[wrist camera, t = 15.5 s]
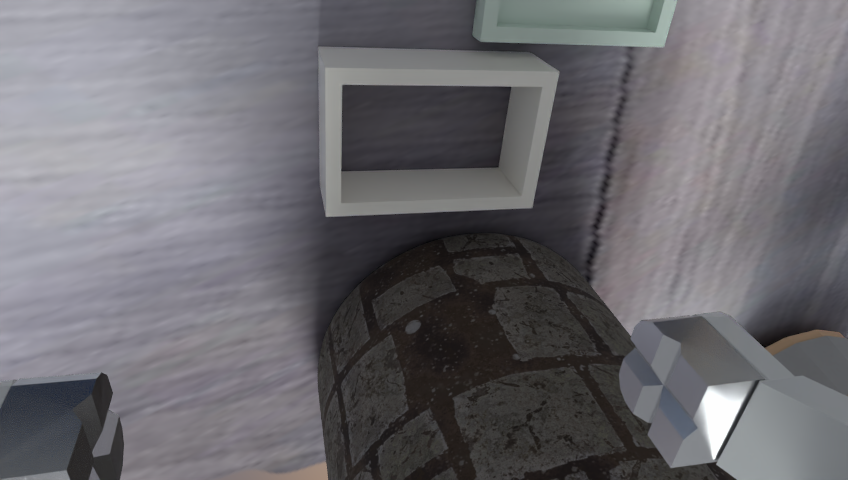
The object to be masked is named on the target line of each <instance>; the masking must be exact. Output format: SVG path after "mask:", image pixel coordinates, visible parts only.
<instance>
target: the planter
mask: <svg viewBox="0 0 848 480" xmlns="http://www.w3.org/2000/svg"><path fill="white" fill-rule="evenodd" d="M630 338H631V336H630V335H629V333H628V332H627V331H626V330H625V328H624V327H623V326H622V325H621V323H620V322H619V321H618V320H617V318H616V317H615V316H614V315H613V313H612V312H611V311H610V310H609V308H608V307H607V306H606V305H605V303H604V302H603V301H602V300H601V298H600V297H599V296H598V295H597V293H596V292H595V291H594V290H593V288H592V287H591V286H590V285H589V283H588V282H587V281H586V280H585V278H584V277H583V276H582V275H581V274H580V273H579V272H578V271H577V270H576V269H575V268H574V267H573V266H572V265H571V264H570V263H569V262H568V261H566V260H565V259H564V258H563V257H561V256H560V255H558V254H557V253H555V252H554V251H552V250H550V249H549V248H547V247H545V246H543V245H541V244H538V243H536V242H533V241H530V240H527V239H524V238H520V237H516V236H511V235H505V234H495V233H474V234H463V235H457V236H451V237H447V238H442V239H439V240H435V241H432V242H429V243H426V244H423V245H420V246H418V247H415V248H413V249H411V250H409V251H407V252H404V253H402V254H401V255H399V256H397V257H395V258H393V259H392V260H390V261H388V262H387V263H385V264H384V265H382V266H381V267H379V268H378V269H377V270H375V271H374V272H373V273H371V274H370V275H369V276H368V277H367V278H365V279H364V280H363V281H362V282H361V283H360V284H359V285H358V286H357V287H356V288H355V289H354V290H353V291H352V292H351V293H350V295H349V296H348V297H347V298H346V299H345V301H344V302H343V303H342V305H341V306H340V308H339V309H338V311H337V312H336V314H335V316H334V317H333V319H332V321H331V323H330V325H329V327H328V329H327V332H326V334H325V337H324V340H323V343H322V347H321V351H320V356H319V363H318V392H319V402H320V410H321V419H322V428H323V437H324V445H325V454H326V463H327V471H328V480H737V479H735V478H734V477H733V476H731V475H730V474H729V473H727V472H726V471H724V470H723V469H722V468H720V467H719V466H718V465H716V464H717V462H711V463H704V464H697V465H689V466H682V467H675V468H670V466H669V465H668V464H667V462H666V461H665V459H664V458H663V456H662V455H661V454H660V452H659V451H658V449H657V448H656V446H655V445H654V443H653V442H652V441H651V439H650V438H649V436H648V435H647V434H648V422H646V421H644V420H643V419H641V418H639V417H638V416H636V415H634V414H633V413H632V411H631V410H630V408H629V407H628V405H627V404H626V402H625V400H624V398H623V395H622V393H621V390H620V380H619V372H620V368H621V365H622V362H623V359H624V358H625V357H626V356H627V355H628V354H629V353H630V352H631V351H632V350H633V349H634V346H633V344H632V342H631V340H630Z"/></svg>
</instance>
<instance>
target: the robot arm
mask: <svg viewBox="0 0 848 480" xmlns="http://www.w3.org/2000/svg"><path fill="white" fill-rule="evenodd" d="M630 340H631V342H632V344H633V346H634V349H633V350H632V351H631V352H630V353H629V354H628V355H627V356H626V357H625V358H624V359H623V362H622V365H621V368H620V372H619V380H620V390H621V393H622V395H623V398H624V400H625V402H626V404H627V405H628V407H629V408H630V410H631V411H632V413H633V414H634V415H636V416H638V417H639V418H641V419H643V420H644V421H646V422H648V434H647V435H648V436H649V438H650V439H651V441H652V442H653V443H654V445H655V446H656V448H657V449H658V451H659V452H660V454H661V455H662V456H663V458H664V459H665V461H666V462H667V464H668V465H669V466H670V468H675V467H682V466H689V465H697V464H704V463H711V462H717V464H716V465H718V466H719V467H720V468H722V469H723V470H724V471H726V472H727V473H729V474H730V475H731V476H733V477H734V478H735V479H737V480H848V396H846V395H844V394H841V393H839V392H837V391H835V390H833V389H831V388H828V387H826V386H824V385H822V384H820V383H818V382H815V381H813V380H811V379H809V378H807V377H805V376H794V375H793V374H792V373H791V372H790V371H788V370H787V369H786V368H785V367H784V366H783V365H782V364H781V363H780V362H779V361H778V360H777V359H776V358H775V357H774V356H772V355H771V354H770V353H769V352H768V351H767V350H766V349H765V348H764V347H763V346H762V345H761V344H760V343H759V342H758V341H756V340H755V339H754V338H753V337H752V336H751V335H750V334H749V333H748V332H747V331H746V330H745V329H744V328H743V327H742V326H740V325H739V324H738V323H737V322H736V321H735V320H734V319H733V318H732V317H731V316H729V315H727V314H725V313H722V312H712V313H703V314H695V315H692V316H689V315H688V316H679V317H669V318H660V319H651V320H641V321H640V322H639V323H638V324H637V325H636V326H635V327H634V330H633V333H632V335H631V338H630ZM112 394H113V392H112V389H111V386H110V382H109V379H108V376H107V375H106V374H104V373H89V374H76V375H63V376H49V377H36V378H23V379H19V380H8V381H0V480H120V476H121V471H122V466H123V450H124V441H123V431H122V426H121V422H120V418H119V416H118V415H117V414H115V413H114V412H112V411H111V410H109V405H110V402H111V398H112Z"/></svg>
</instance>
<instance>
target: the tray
mask: <svg viewBox="0 0 848 480" xmlns="http://www.w3.org/2000/svg"><path fill="white" fill-rule="evenodd" d="M676 3H677V0H476V8H475V16H474V24H473V33H472V36H473V37H475V38H476V39H477V40H478V41H480V42H500V43H533V44H567V45H600V46H633V47H664V45H665V42H666V38H667V35H668V31H669V28H670V24H671V21H672V17H673V14H674V10H675V7H676Z"/></svg>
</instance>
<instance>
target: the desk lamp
mask: <svg viewBox="0 0 848 480" xmlns="http://www.w3.org/2000/svg"><path fill="white" fill-rule="evenodd" d="M765 349H766V350H767V351H768V352H769V353H770V354H771V355H772V356H774V357H775V358H776V359H777V360H778V361H779V362H780V363H781V364H782V365H783V366H784V367H785V368H786V369H787V370H788V371H790V372H791V373H792V374H793V375H794V376H805V377H807V378H809V379H811V380H813V381H815V382H818V383H820V384H822V385H824V386H826V387H828V388H831V389H833V390H835V391H837V392H839V393H841V394H844V395H846V396H848V338H845V337H844V336H843V335H842V334H841V333H840V332H833V331H825V330H818V329H817V330H813V331H808V332H804V333H800V334H796V335H792V336H788V337H786V338H783V339H781V340H779V341H777V342H775V343H773V344H771V345H769V346H767V347H765Z"/></svg>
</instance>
